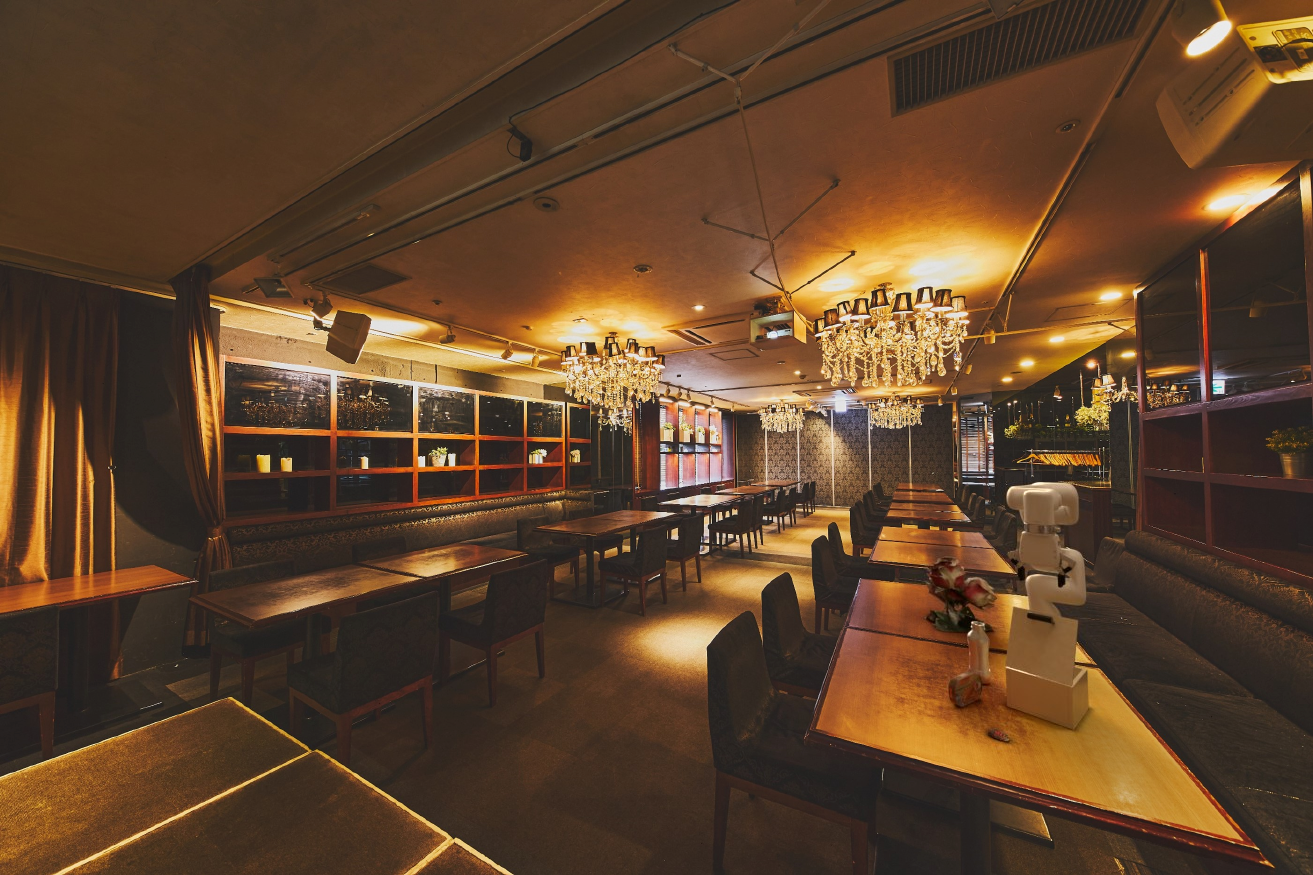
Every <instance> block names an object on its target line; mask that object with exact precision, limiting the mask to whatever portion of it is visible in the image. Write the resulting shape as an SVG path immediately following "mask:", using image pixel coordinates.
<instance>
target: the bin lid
mask: <svg viewBox="0 0 1313 875" xmlns="http://www.w3.org/2000/svg"><path fill="white" fill-rule="evenodd" d="M1010 619H1011V620H1010V628H1009V635H1008V640H1007V641H1008V643H1007V650H1006V657H1005V667H1010V668H1013V669H1017V670H1020V671H1023V672H1027V673H1030V674H1033V675H1036V676H1040V677H1043V678H1046V679H1050V680H1053V681H1056V682H1060V683H1063V684H1066V685H1070V686H1073V676H1074V666H1076V665H1075V664H1076V663H1075V662H1076V652H1077V651H1076V650H1077V641H1078V631H1079V620H1078V619H1074V618H1069V617H1064V616H1061V617H1060V616H1055V615H1051V614H1046V613H1041V612H1037V611H1032V610H1029V609H1027V608H1023V607H1017V606H1012V614H1011V618H1010Z"/></svg>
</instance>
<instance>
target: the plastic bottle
mask: <svg viewBox="0 0 1313 875" xmlns="http://www.w3.org/2000/svg"><path fill="white" fill-rule="evenodd" d="M971 628H972V630H971V631H968V632H967V635H966V640H967V645H968V652H969V660H968V661H969V662H968V669H967V671H969V672H973V673H977V674H978V675H979V676H980V677H981V680H982V685H983V684H986V685H988V684H990V682H991V681H992V672H991V669H990V662H989V651H990V641H991V640H990V637H989V636H988V635H987V633H986V631H984V630H985V628H984V624H983V623H981V622H972V623H971Z"/></svg>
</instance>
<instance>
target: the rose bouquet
mask: <svg viewBox="0 0 1313 875" xmlns="http://www.w3.org/2000/svg"><path fill="white" fill-rule="evenodd" d="M931 564H932V565H933V566H929V567H928V568H927V569H926V572H929V573H925V575H926V576H927V577H928V579H927V580H923V582H925V584H926V586H927V589H928V592H927V593H928V594H929V595H931V596H932V597H935V598H937V599H938V601H940V602H942V603H943V604H944V606H943V611H942V612H941V611H937V610H935V609H933V610H932V609H929V614H928V615H925V619H926V620H927V619H928V620H930V621H932V622H934V623H931V625H932V626H933V627H934V628H935V629H936V630H937V631H941V632H947V633H948V632H949V633H969V632H970V631H971V630H972V628H971V623H972V622H981V623H983V624H984V628H985V630H984V632H988V631H993V632H994V631H995V630H994V628H993V626H991V624H990V623H987V622H985V621H984V620H979V619H978V618H976V616H975V614H974V612H973V611H972V610H971V608H970V607H969V605H972V606H974V607H975V608H977V609H978V610H981V611H982V612H987V613H988V614H990V612H989V611H988V610H985V609H984V608H986V609H992V608H995V601H996V600H998V597H997V596H996V595H995V593H994V591H995V590H996V589H995V588H994V587H993V586H991V585H989V583H988V582H987V580H985V579H983V578H981V577H977V576H974V577H971V576H970V577H967V578H966V574H967V571H965V568H964V566H961V565H960V560H959V559H957V557H955V556H949V555H948V556H947V555H945V556H943V557H938V558H937V560H936V562H934V561H933V562H932V563H931ZM965 579H966V580H965ZM991 602H992V603H991ZM960 606H961V608H960ZM959 608H960V609H959Z"/></svg>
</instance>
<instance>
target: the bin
mask: <svg viewBox="0 0 1313 875" xmlns="http://www.w3.org/2000/svg"><path fill="white" fill-rule="evenodd" d="M1088 674H1089V673H1088V669H1087V668H1083V667H1081V666H1076V665H1074V676H1073V686H1070V685H1066V684H1063V683H1060V682H1056V681H1053V680H1050V679H1046V678H1043V677H1040V676H1036V675H1033V674H1030V673H1027V672H1023V671H1020V670H1017V669H1013V668H1010V667H1007V666H1005V687H1006V688H1005V690H1006V707H1008V708H1011V709H1013V710H1017V711H1020V712H1023V713H1025V714H1027V715H1031V716H1034V717H1036V718H1040V719H1041V720H1045V721H1047V722H1050V723H1053V724H1055V725H1058V726H1060V727H1064V728H1067V729H1070V730H1072V731H1074V730H1075V729H1076V727H1077V726H1078V725H1079V723H1080V722H1081V721H1082V719H1083V718H1084V716H1085V714H1086V713H1087V712H1088V711H1089V709H1090V703H1089V701H1090V700H1089V699H1090V698H1089V676H1088Z"/></svg>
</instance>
